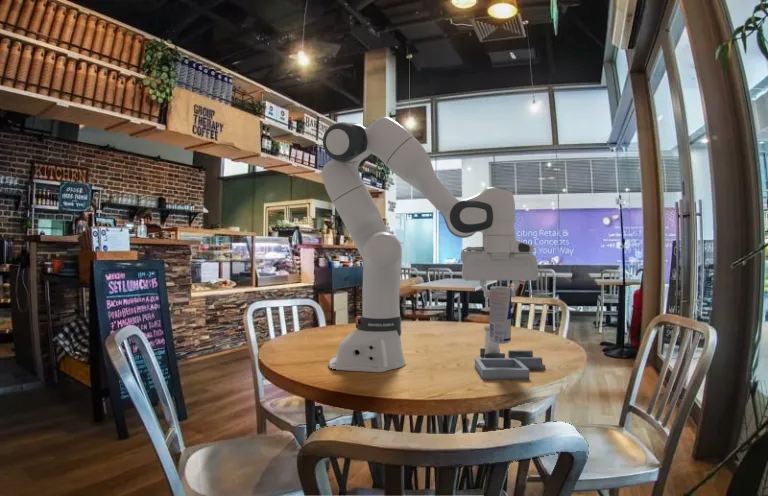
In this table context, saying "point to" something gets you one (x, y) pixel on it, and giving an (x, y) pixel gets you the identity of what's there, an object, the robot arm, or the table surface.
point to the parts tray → (501, 368)
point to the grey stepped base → (527, 358)
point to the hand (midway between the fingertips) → (499, 297)
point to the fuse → (490, 342)
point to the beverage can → (500, 314)
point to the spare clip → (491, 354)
